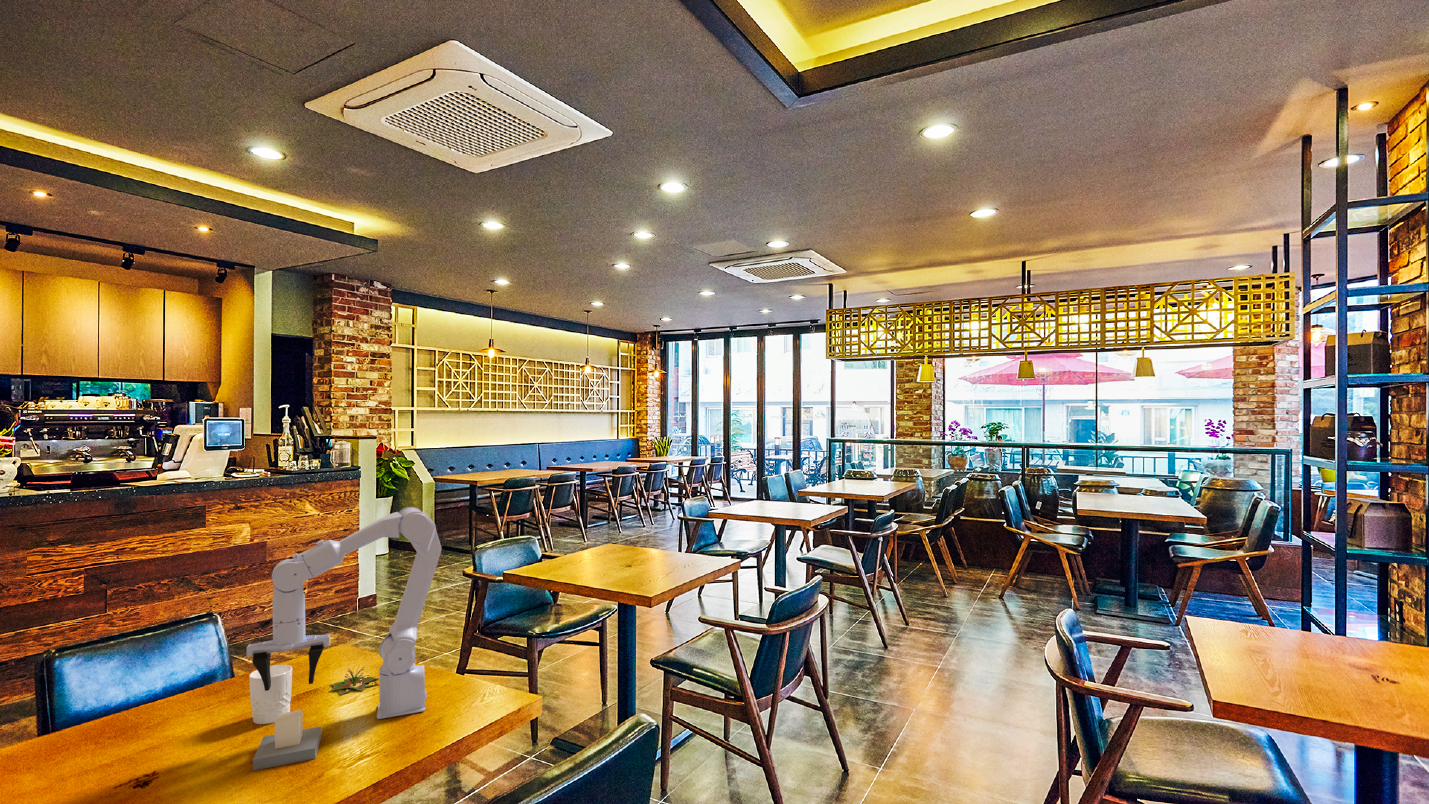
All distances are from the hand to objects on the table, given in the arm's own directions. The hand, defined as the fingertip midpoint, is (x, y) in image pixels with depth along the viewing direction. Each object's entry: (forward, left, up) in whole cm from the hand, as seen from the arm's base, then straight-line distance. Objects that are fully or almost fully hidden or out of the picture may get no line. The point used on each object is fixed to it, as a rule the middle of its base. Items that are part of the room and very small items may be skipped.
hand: (289, 685), depth 141 cm
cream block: (-1, +9, -8) cm, 12 cm away
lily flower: (-10, -23, -11) cm, 27 cm away
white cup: (+5, -11, -10) cm, 16 cm away
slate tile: (-1, +9, -10) cm, 13 cm away
